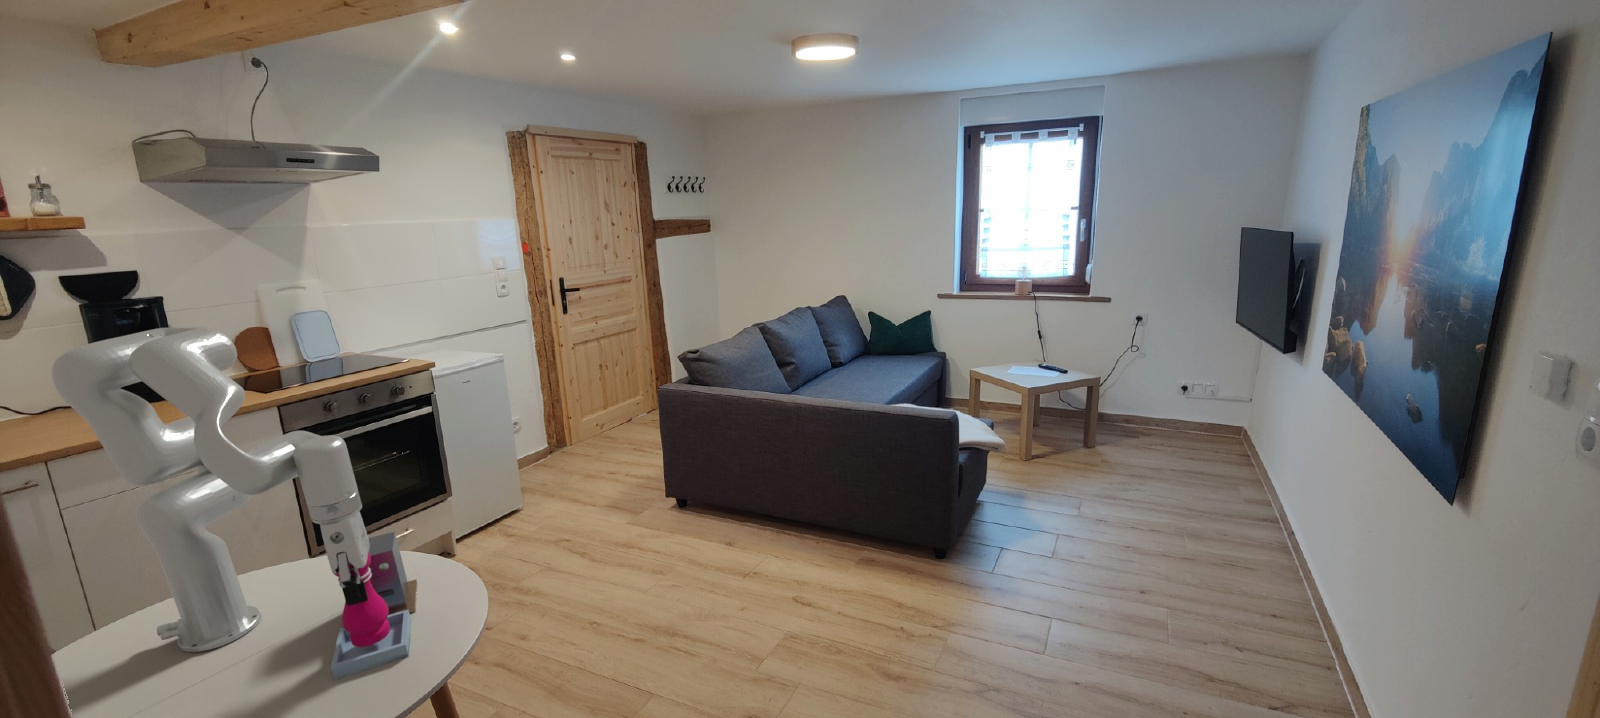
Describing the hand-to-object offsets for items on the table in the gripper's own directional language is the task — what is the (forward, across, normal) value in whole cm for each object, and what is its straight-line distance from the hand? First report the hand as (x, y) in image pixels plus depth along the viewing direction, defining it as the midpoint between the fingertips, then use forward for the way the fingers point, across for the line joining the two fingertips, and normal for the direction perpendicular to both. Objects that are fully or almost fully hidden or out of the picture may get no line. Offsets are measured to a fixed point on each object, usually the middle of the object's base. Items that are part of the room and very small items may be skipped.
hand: (359, 592), depth 123 cm
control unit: (+12, +14, -1) cm, 19 cm away
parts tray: (+12, 0, 0) cm, 12 cm away
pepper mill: (+10, 0, 0) cm, 10 cm away
